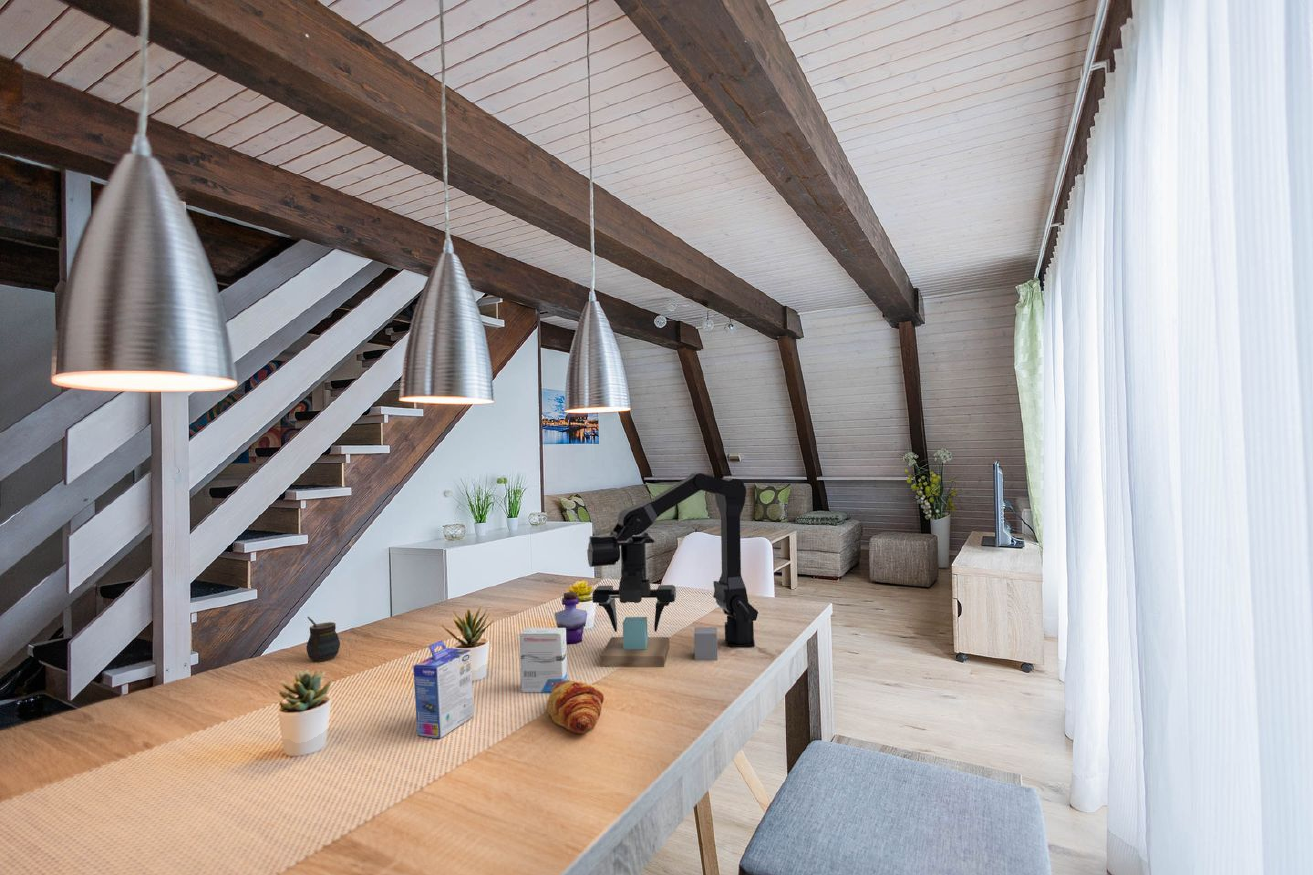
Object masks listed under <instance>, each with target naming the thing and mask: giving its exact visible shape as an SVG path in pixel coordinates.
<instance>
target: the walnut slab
mask: <svg viewBox="0 0 1313 875" xmlns="http://www.w3.org/2000/svg"><path fill="white" fill-rule="evenodd" d="M669 650H670V636H669V637H668V636H666V637H665V636H658V637H657V636H656V637H655V636H650V637H649V636H648V644H647V647H646V649H629V650H624V648H623V636H612V637H610V639H609V640H608V642H607V644H606V646H605V647H604V649H603V651H602V652H601V653H600V656H599V657H600V668H602V667H603V668H604V667H605V668H665V664H666V661H667V658H668V654H669Z"/></svg>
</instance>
